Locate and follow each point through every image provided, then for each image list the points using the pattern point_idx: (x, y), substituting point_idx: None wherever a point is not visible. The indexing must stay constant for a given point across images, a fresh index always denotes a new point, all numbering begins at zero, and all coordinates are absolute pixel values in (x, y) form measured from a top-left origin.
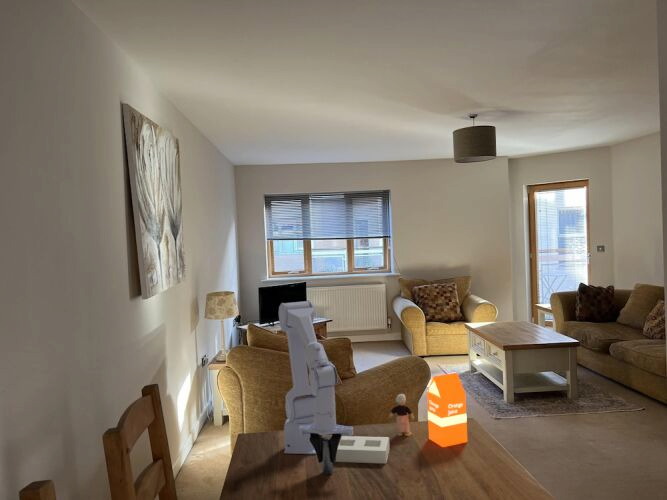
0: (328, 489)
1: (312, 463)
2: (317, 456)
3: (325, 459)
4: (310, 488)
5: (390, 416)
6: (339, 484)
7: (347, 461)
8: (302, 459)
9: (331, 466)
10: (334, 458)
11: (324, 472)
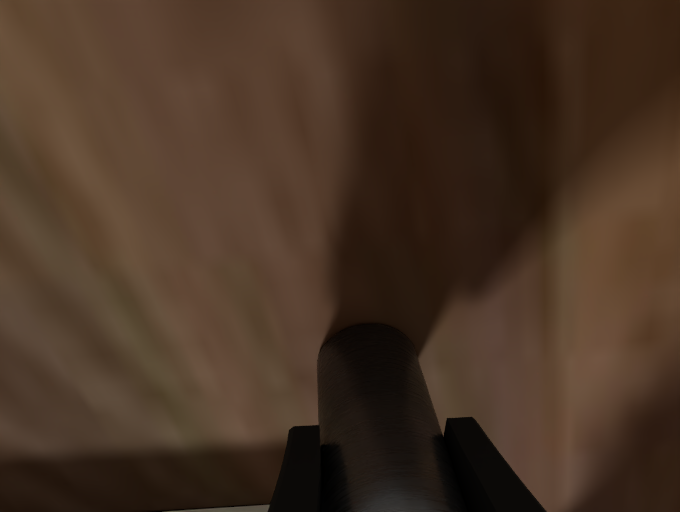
0: (273, 8)
1: (508, 461)
2: (518, 479)
3: (399, 450)
4: (505, 13)
5: None
6: (182, 157)
7: (250, 510)
8: (582, 493)
9: (326, 397)
10: (279, 477)
11: (391, 338)
